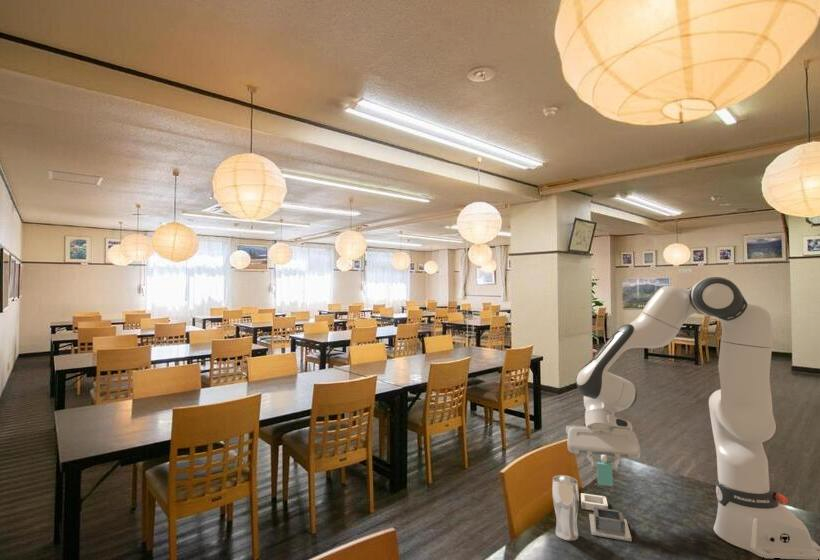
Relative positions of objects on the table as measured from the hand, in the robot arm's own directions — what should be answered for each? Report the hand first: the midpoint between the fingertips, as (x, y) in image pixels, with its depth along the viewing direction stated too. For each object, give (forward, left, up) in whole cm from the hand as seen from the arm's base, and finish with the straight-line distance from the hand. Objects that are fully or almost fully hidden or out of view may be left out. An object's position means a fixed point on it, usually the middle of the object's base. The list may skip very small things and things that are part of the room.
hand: (604, 468), depth 120 cm
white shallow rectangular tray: (+2, -11, -16) cm, 19 cm away
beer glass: (+12, +8, -16) cm, 22 cm away
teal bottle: (0, -1, -4) cm, 4 cm away
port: (0, +2, -16) cm, 16 cm away
